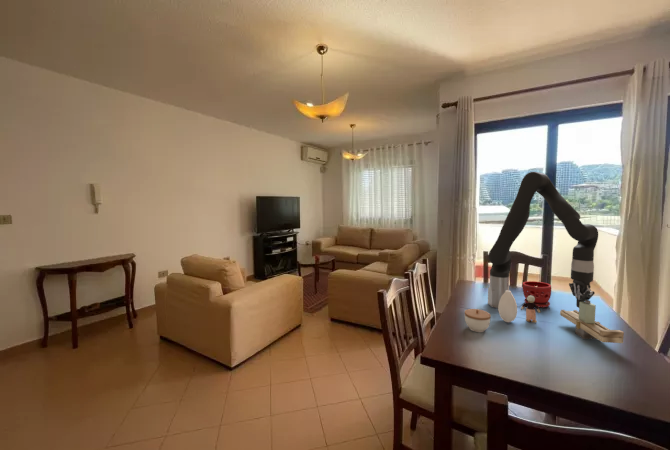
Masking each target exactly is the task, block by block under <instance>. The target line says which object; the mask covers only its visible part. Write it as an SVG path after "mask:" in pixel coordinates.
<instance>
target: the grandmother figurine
mask: <svg viewBox="0 0 670 450" xmlns="http://www.w3.org/2000/svg"><path fill="white" fill-rule="evenodd" d="M527 300H528V302H529V303H525V302H524V303H523V304H522V305H521V307H520V309H521V310H524V309H526V310H525V321H526V322H528V323H529V322H531V323H538V321H537V319H536V317H537V313H540V314H541V310H540V307H538V306H537V305H536V304H534V303H533V302H534V301H535V298H534V296H528V297H527ZM536 311H537V313H536Z"/></svg>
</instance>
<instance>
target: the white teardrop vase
mask: <svg viewBox="0 0 670 450" xmlns="http://www.w3.org/2000/svg"><path fill="white" fill-rule="evenodd" d="M497 310H498V314H499V317H500V318H501V320H503V321H504V322H505V323H512V322H513V321H514V320H516V318H517V315H518V305H517V301H516V299H515V297H514V295H513V293H512V291H511V290H510V285H509V286H508V290H506V291H505V293H504V294H503V295H502V297H501V299H500V301H499V306H498V308H497Z"/></svg>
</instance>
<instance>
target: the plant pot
mask: <svg viewBox="0 0 670 450" xmlns="http://www.w3.org/2000/svg"><path fill="white" fill-rule="evenodd" d="M522 292H523V296H524V303H529V302H528V300H527V297H528V296H534V298H535V301H534V302H533V303H534V304H536V305H537V306H538V308H548V307H549V306H550V305H551V303H550V298H551V296H552V285H551V284H550V283H547V282H541V281H534V280H533V281H531V280H530V281H523V282H522Z"/></svg>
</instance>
